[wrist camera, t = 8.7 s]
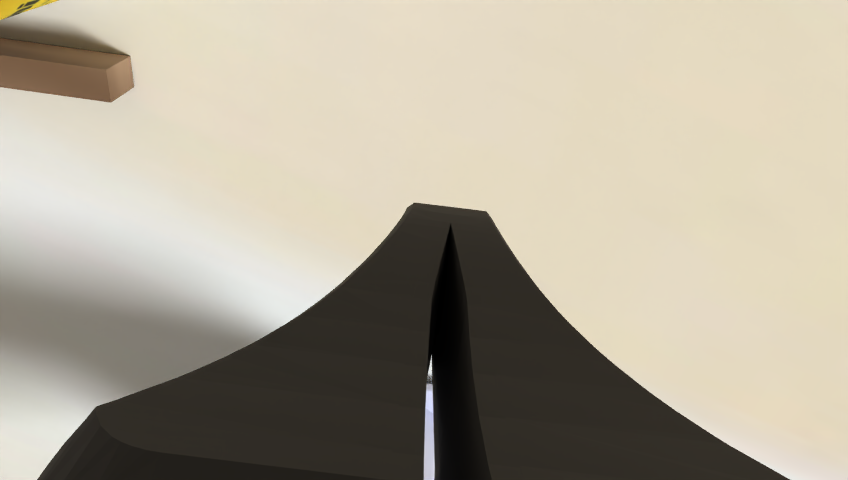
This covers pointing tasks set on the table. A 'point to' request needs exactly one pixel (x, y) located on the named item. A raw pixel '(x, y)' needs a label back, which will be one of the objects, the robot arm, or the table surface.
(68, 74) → the wooden bracket frame
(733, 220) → the table surface
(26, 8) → the supplement bottle
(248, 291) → the table surface
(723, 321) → the table surface
